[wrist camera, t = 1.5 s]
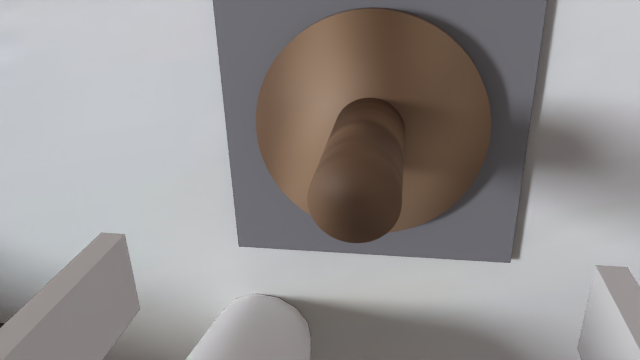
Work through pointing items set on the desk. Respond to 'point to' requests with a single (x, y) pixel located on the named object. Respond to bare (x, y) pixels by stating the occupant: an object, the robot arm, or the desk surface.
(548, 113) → the desk surface
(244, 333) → the foam cup
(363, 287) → the desk surface
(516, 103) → the mat
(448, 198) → the lid
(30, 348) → the robot arm
